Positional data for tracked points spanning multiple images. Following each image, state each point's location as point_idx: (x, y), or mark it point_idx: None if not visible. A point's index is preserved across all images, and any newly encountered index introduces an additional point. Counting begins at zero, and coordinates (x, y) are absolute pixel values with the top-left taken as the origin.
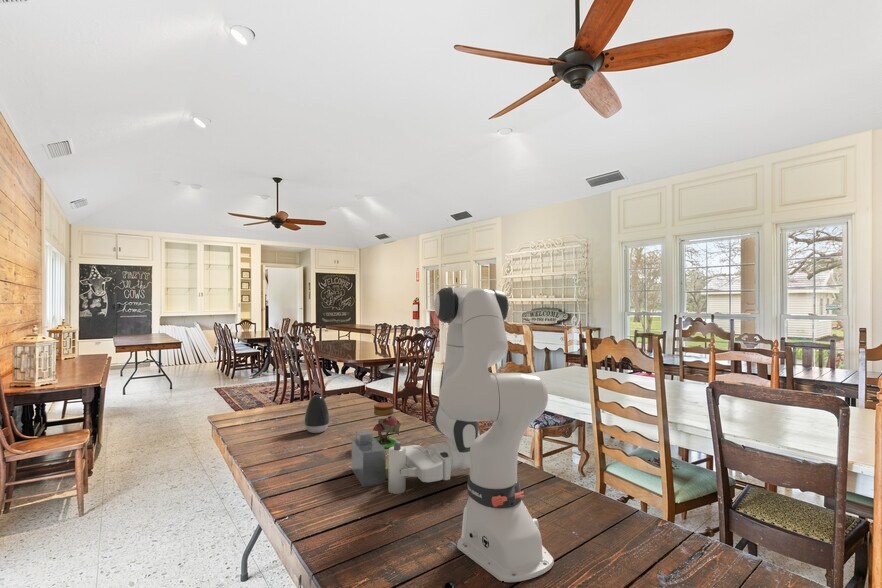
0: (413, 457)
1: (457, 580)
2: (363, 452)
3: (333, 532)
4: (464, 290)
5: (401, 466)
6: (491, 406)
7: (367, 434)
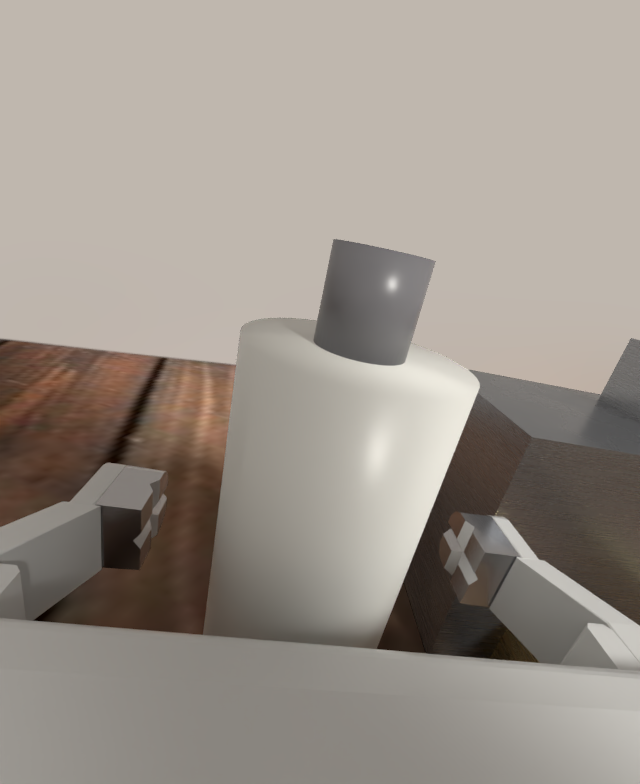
0: (334, 726)
1: None
2: None
3: (123, 388)
4: None
5: (220, 507)
6: None
7: None
